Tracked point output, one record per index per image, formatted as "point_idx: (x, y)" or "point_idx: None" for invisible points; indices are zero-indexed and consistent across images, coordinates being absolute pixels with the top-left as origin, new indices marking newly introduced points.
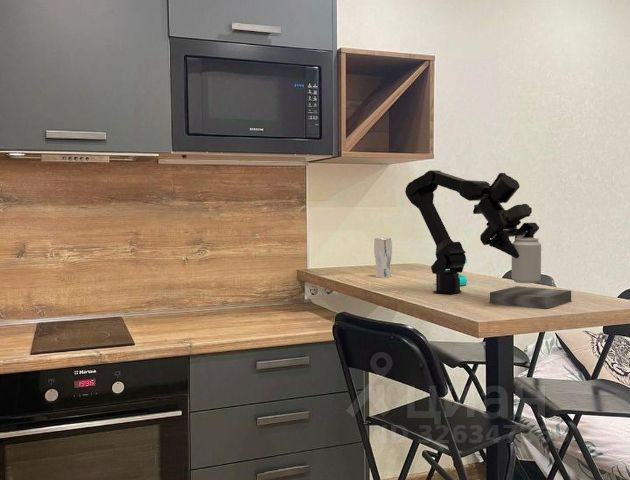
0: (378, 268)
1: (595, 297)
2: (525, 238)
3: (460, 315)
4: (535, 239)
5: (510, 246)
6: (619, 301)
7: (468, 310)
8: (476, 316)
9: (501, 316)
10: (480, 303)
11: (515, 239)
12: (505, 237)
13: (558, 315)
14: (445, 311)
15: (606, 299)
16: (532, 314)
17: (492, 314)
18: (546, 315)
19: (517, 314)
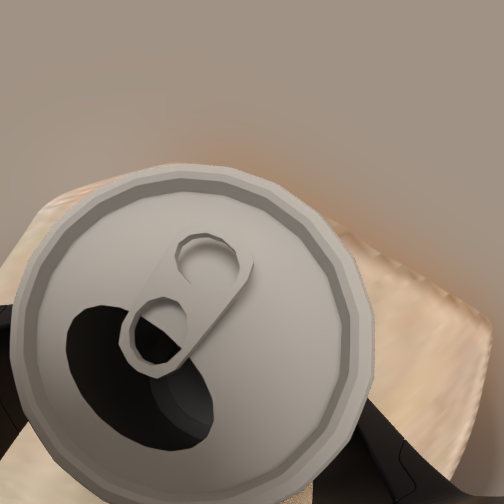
0: None
1: (32, 250)
2: (31, 377)
3: (470, 406)
4: (238, 172)
5: (397, 439)
6: (73, 196)
7: (418, 444)
8: (463, 375)
9: (435, 335)
10: (289, 498)
11: (325, 461)
12: (476, 497)
13: (341, 239)
14: (450, 464)
15: (53, 223)
16: (371, 291)
17: (430, 366)
18: (360, 260)
19: (395, 320)
